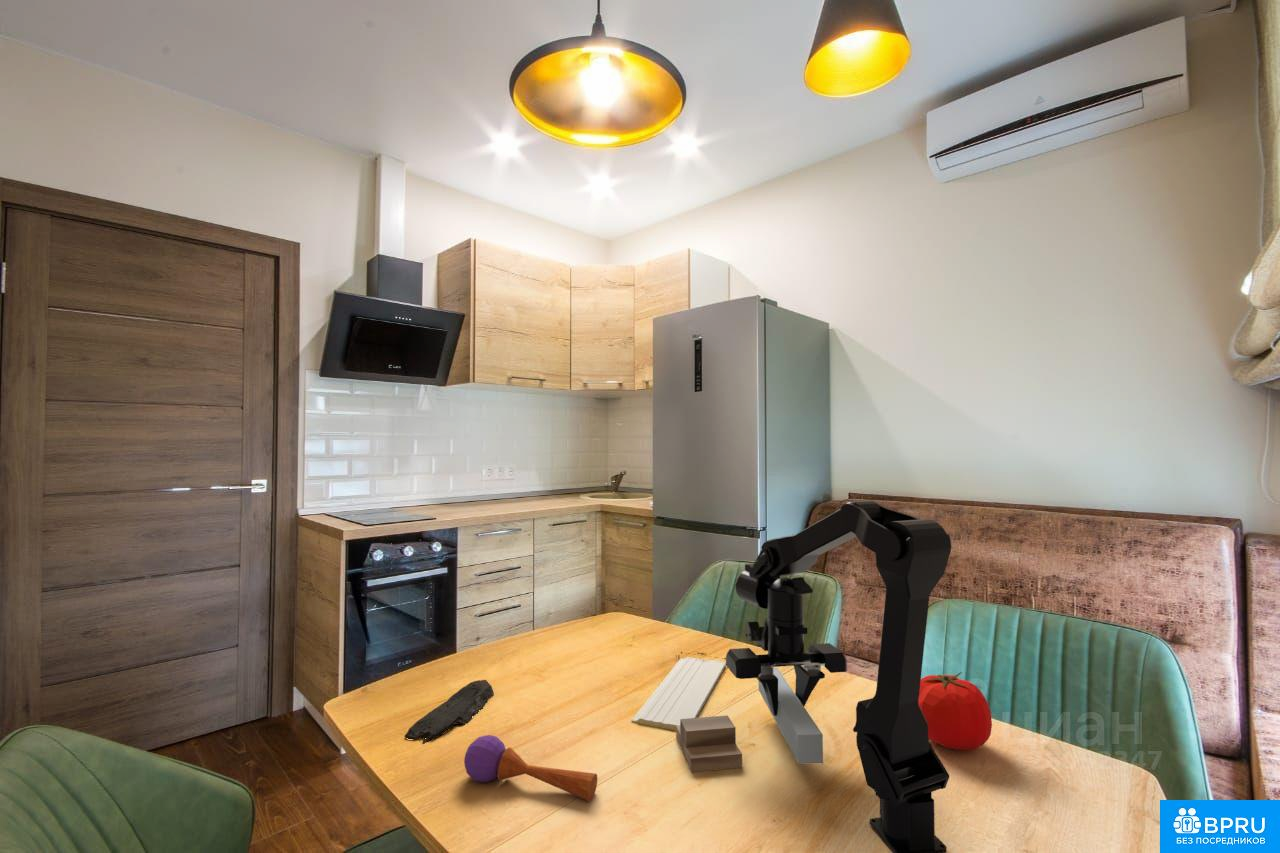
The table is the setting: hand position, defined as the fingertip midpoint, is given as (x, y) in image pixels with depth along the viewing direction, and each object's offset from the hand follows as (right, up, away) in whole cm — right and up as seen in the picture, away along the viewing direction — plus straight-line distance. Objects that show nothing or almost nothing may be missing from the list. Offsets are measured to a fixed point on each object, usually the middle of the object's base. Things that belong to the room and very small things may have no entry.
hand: (786, 713), depth 90 cm
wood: (-57, -6, +12) cm, 59 cm away
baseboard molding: (-16, -7, +21) cm, 27 cm away
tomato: (+27, -6, +1) cm, 28 cm away
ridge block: (-13, -5, -1) cm, 14 cm away
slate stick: (0, -1, 0) cm, 1 cm away
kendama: (-40, -5, -10) cm, 41 cm away
